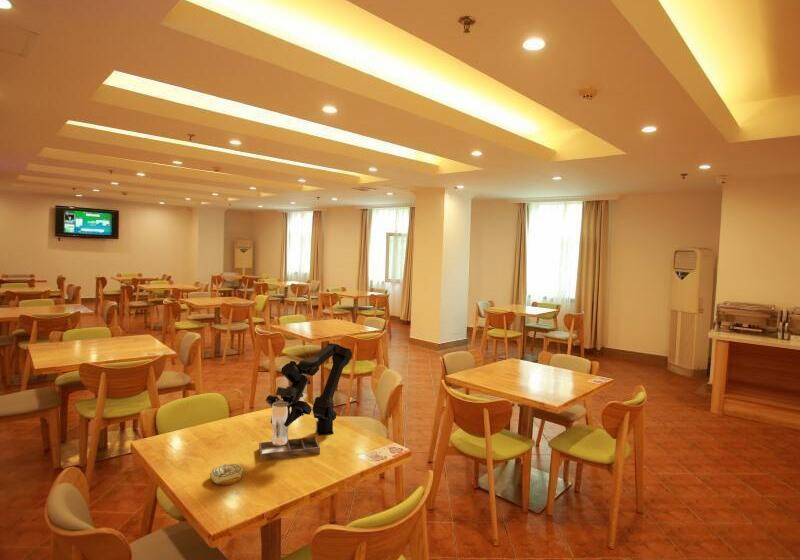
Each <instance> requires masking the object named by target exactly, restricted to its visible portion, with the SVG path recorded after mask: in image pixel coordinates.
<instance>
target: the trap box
mask: <svg viewBox="0 0 800 560" xmlns="http://www.w3.org/2000/svg"><path fill="white" fill-rule="evenodd" d="M288 440H289V441H288V443H287V444H285V445H274V444H273V443H272V441H264V442H262V441H261V442H258V451H259V459H260V460H259V461H260V462H263V461H272V460H279V459H288V458H296V457H297V458H298V457H304V456H312V455H313V456H314V455H319V454H320V453H321V447H320V444H319V442H318V440H317V437H316V436H309V437H308V436H307V437H299V438H292V439H291V438H290V439H289V438H288Z"/></svg>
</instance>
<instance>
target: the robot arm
mask: <svg viewBox="0 0 800 560" xmlns="http://www.w3.org/2000/svg"><path fill="white" fill-rule="evenodd" d="M352 357H353V352H352V350H351V348H348V347H344V346H342V345H340V344H338V343H332V342H329V343H327V344H326V346H324V347H323V348H322V349H321V350H320V351H318V352H317V353H316V354H314V355H313V356H310V357H306V358H303V359H302V360H300V361H299V362H298V363H297V362H296V361H294V360H290V361H289V362H288V363H286V364H284V366H282V367H281V370H280V373H281V375H283V377H284V378H285V379H286V380H287V382H289V383H290V385H289V386H286V387H285V388H284V387H281V386H280V387H279V386H278V387H276V393H275V395H272V394H269V395H268V396H267V397H266V399H265V400H264V401H265V402H266V403H267V404H268V405H269V406H271V408H272V404H273V403H275V402H278V401H286V402H289V403H290V415H289V417H288V420H287V422H286V424H285V426H286V427H288V426H290V425H291V424H293V422H295V421H296V420H297V419H299V418H300V417H302V416H303V417H304V415H311V413H313V418H314V419H317V420H316V421H315V431H316V433H317V434H318V436H322V435H323V436H324V435H330V434H331V435H333V434H335V433H334V431H333V430H334V428H333V425H334V421H335V419H336V418H337V415H338V413H337V412H336V411H335V410H334V408H335V407H334V406H335V403H334V396H335V393H336V389H337V388H338V384H339V381H340V379H341V376H342V373H343V369H344V368H345V367H346V366H347V365H348V364H349V363H350V362H351V359H352ZM330 358H331V360H332V366H331V369H330V372H329V374H328V377H327V380H326V383H325V384H324V385H325V386H324V389H323V390H322V394H321V395H320V396H316V397H315V399H314V401H313V404H312V406H311V405H310V404H309V403H308V402H307V401H305V400H304V401H303V400H300V399H301V398H304V394H303V392H304V391H305V388H306V386H307V385H311V384H312V383H311V380H310V379H311V378H310V377H313V376H315V375H316V373H318V371H319V370H320V366H321V365H323V364H324V363H325V362H326V361H328V360H329V359H330ZM307 376H310V377H307ZM278 396H279V397H280V398H281V399H280V398H279V397H278ZM270 423H271V425H272V415H271V418H270ZM288 428H289V427H288Z"/></svg>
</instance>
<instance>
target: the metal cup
mask: <svg viewBox="0 0 800 560" xmlns="http://www.w3.org/2000/svg"><path fill="white" fill-rule="evenodd" d="M290 413H291V407H290V403H289V402H286V401H278V402H275V403H273V404H272V407H271V416H272V424H271V425H272V431H273V432H272V433H273V435H272V443H273V444H274V445H285V444H287V443H288V441H289V433H288V431H289V426H290V425H289V426H288V427H286V426H285V424H286V422H287V420H288V417H289V415H290Z"/></svg>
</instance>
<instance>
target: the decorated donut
mask: <svg viewBox="0 0 800 560" xmlns="http://www.w3.org/2000/svg"><path fill="white" fill-rule="evenodd" d="M242 475H243V468H242V466H240V465H239V464H236V463H226V464H222V465H217V466H216V467H214V468H212V469H211V471H210V472H209V477H210V480H211V482H212V483H214V484H216V485H218V486H230V485H231V486H232V485H233V484H236V483H238V482H239V481H240V479H241V478H242Z"/></svg>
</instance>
